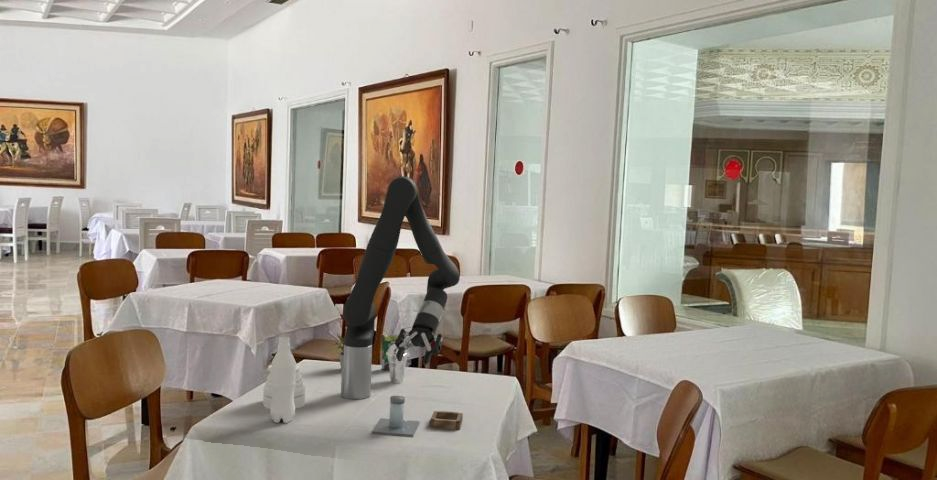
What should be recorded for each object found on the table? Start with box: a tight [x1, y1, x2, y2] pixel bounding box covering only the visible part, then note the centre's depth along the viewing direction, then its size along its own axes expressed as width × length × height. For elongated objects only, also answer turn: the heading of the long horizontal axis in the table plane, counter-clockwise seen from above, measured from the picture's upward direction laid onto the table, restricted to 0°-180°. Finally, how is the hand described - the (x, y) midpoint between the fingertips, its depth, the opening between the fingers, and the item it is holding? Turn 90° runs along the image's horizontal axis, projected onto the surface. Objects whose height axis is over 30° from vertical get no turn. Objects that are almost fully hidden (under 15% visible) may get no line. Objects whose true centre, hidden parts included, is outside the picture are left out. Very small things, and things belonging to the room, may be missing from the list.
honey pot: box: [262, 345, 306, 410], centre depth 244 cm, size 13×13×18 cm
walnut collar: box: [429, 410, 464, 431], centre depth 232 cm, size 9×9×2 cm
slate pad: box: [371, 417, 421, 437], centre depth 226 cm, size 12×12×1 cm
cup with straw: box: [386, 325, 413, 384], centre depth 275 cm, size 8×9×20 cm
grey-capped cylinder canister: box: [388, 395, 406, 428], centre depth 226 cm, size 4×4×8 cm
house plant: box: [330, 326, 347, 371], centre depth 289 cm, size 14×14×16 cm
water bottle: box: [269, 336, 297, 424], centre depth 227 cm, size 7×7×25 cm
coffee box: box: [381, 334, 405, 371], centre depth 291 cm, size 8×3×13 cm, turn 114°
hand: (411, 361), depth 233 cm, fingers open, 8 cm apart
